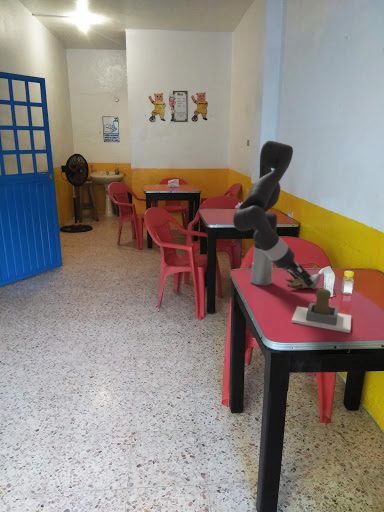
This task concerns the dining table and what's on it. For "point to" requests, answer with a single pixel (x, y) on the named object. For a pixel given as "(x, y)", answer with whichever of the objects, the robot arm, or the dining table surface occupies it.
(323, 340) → the dining table surface
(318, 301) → the cork
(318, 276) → the ceramic sculpture
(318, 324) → the board
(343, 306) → the dining table surface
